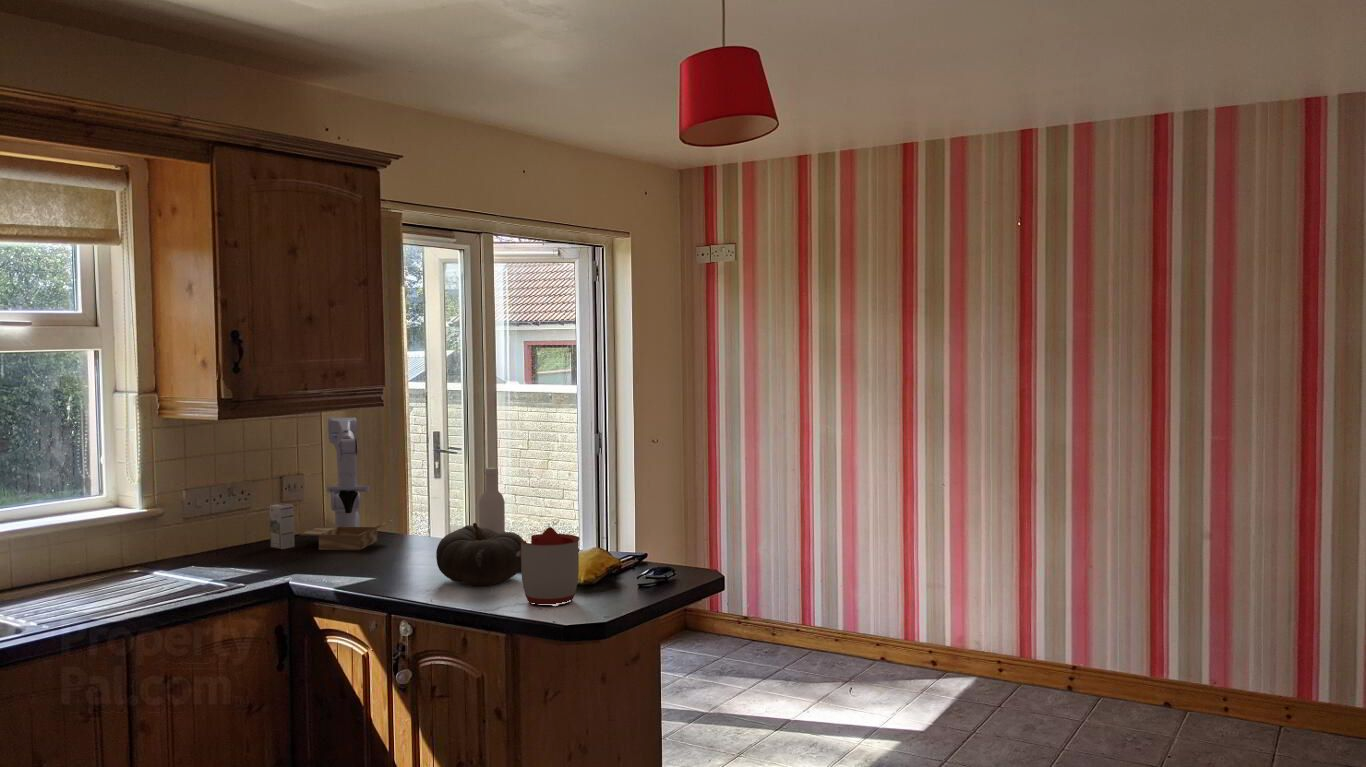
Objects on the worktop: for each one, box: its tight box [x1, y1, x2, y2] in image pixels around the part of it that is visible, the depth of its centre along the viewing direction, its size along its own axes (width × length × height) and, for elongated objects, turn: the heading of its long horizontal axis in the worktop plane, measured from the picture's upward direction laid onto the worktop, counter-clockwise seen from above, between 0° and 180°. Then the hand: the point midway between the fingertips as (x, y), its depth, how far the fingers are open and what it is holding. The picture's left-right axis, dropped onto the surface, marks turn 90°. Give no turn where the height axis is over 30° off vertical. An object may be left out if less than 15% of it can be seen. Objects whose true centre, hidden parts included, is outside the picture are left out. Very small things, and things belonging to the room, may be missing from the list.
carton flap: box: [361, 518, 395, 536], centre depth 353 cm, size 14×7×1 cm, turn 176°
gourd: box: [435, 522, 524, 586], centre depth 301 cm, size 25×25×17 cm
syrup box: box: [269, 503, 295, 550], centre depth 351 cm, size 6×6×14 cm
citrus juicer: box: [516, 526, 580, 604], centre depth 275 cm, size 16×17×20 cm
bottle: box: [478, 467, 506, 533], centre depth 323 cm, size 8×8×30 cm
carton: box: [299, 526, 378, 551], centre depth 354 cm, size 16×21×5 cm
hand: (348, 512), depth 358 cm, fingers closed
